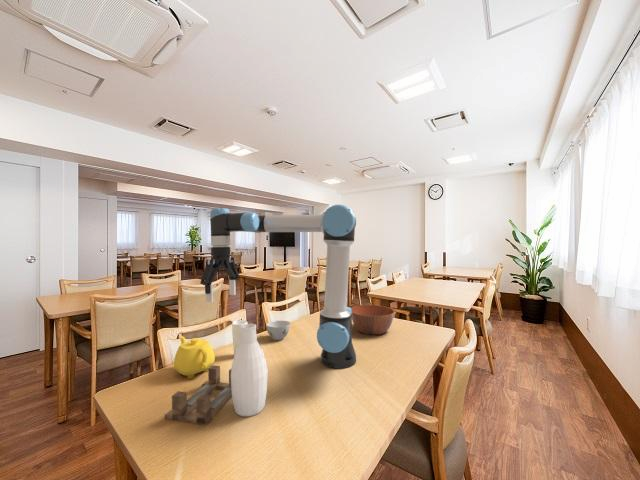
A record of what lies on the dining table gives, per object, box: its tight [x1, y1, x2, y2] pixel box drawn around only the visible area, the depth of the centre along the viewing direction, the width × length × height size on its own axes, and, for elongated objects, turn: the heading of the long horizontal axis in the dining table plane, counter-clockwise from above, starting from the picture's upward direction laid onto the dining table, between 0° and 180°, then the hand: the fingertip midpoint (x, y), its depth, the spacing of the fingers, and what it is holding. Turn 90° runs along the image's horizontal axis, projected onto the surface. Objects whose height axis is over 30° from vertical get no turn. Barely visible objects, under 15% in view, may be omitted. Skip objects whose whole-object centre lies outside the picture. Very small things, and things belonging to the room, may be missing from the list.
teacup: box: [265, 320, 291, 341], centre depth 143 cm, size 15×12×8 cm
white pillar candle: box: [231, 319, 249, 357], centre depth 122 cm, size 7×7×15 cm
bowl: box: [350, 304, 395, 336], centre depth 154 cm, size 25×25×11 cm
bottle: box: [230, 323, 269, 417], centre depth 84 cm, size 11×11×25 cm
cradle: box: [164, 365, 232, 426], centre depth 87 cm, size 14×19×7 cm
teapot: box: [173, 335, 216, 379], centre depth 108 cm, size 14×20×13 cm
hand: (221, 298), depth 111 cm, fingers open, 13 cm apart
